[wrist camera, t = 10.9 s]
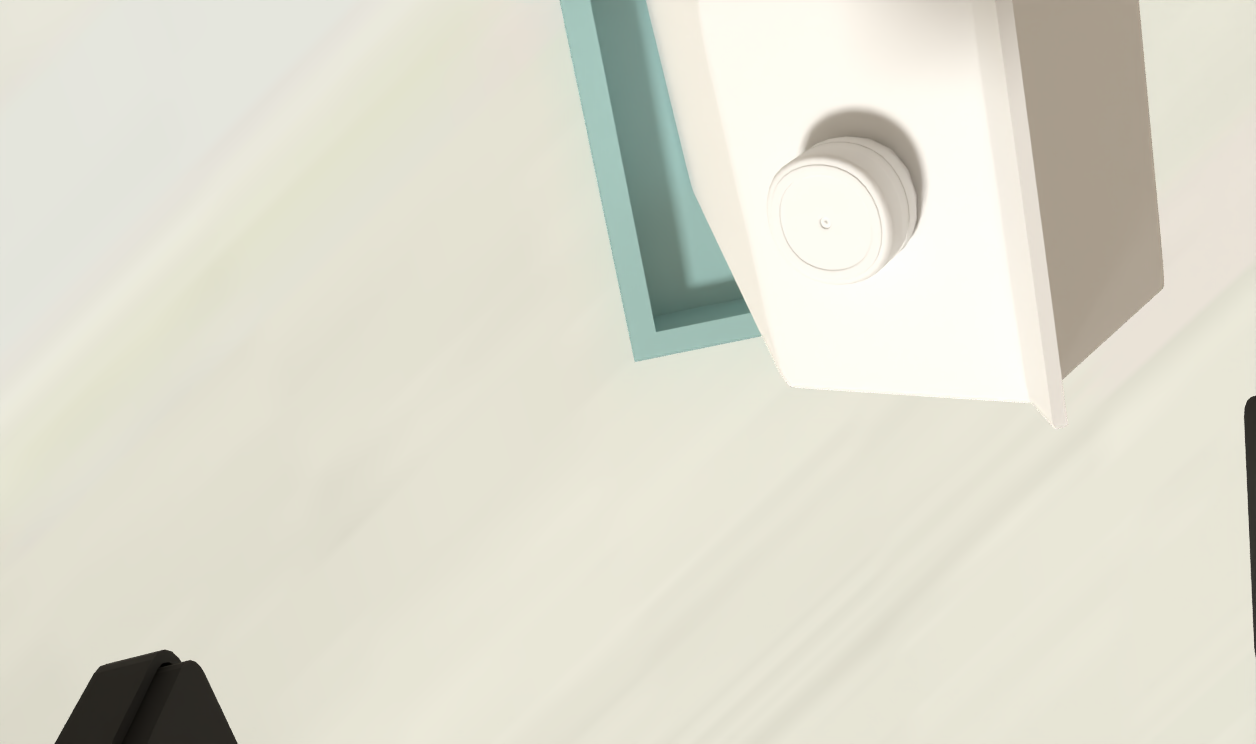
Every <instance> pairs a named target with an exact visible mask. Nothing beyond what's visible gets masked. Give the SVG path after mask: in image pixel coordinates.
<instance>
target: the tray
mask: <svg viewBox="0 0 1256 744" xmlns="http://www.w3.org/2000/svg"><path fill="white" fill-rule="evenodd" d="M560 4H561V9H562V13H563V18H564V23H565V28H566V33H567V37H568V42H569V47H570V52H571V57H572V62H573V66H574V71H575V76H576V81H577V86H578V90H579V95H580V100H581V105H582V110H583V115H584V119H585V124H586V129H587V134H588V139H589V143H590V148H591V153H592V158H593V163H594V167H595V172H596V177H597V182H598V187H599V192H600V196H601V201H602V206H603V211H604V216H605V220H606V225H607V230H608V235H609V240H610V245H611V249H612V254H613V259H614V264H615V269H616V273H617V278H618V283H619V288H620V293H621V298H622V302H623V307H624V312H625V317H626V322H627V326H628V331H629V336H630V341H631V346H632V351H633V355H634V360H635V362H637V361H642V360H647V359H651V358H656V357H661V356H666V355H671V354H676V353H681V352H686V351H691V350H696V349H701V348H705V347H710V346H715V345H720V344H725V343H730V342H735V341H740V340H745V339H750V338H755V337H759V336H762V335H761V333H760V331H759V329H758V327H757V325H756V323H755V321H754V319H753V316H752V314H751V312H750V310H749V308H748V306H747V304H746V302H745V300H744V297H743V295H742V293H741V291H740V289H739V287H738V285H737V283H736V281H735V279H734V276H733V274H732V272H731V270H730V268H729V266H728V264H727V262H726V260H725V257H724V255H723V253H722V251H721V249H720V247H719V245H718V243H717V241H716V239H715V236H714V234H713V232H712V230H711V228H710V226H709V224H708V222H707V220H706V218H705V215H704V213H703V211H702V209H701V207H700V205H699V203H698V201H697V199H696V196H695V194H694V192H693V189H692V186H691V183H690V179H689V175H688V171H687V167H686V163H685V159H684V155H683V151H682V147H681V143H680V139H679V134H678V130H677V126H676V122H675V118H674V114H673V110H672V106H671V102H670V98H669V94H668V90H667V85H666V81H665V77H664V73H663V69H662V65H661V61H660V57H659V53H658V49H657V45H656V41H655V36H654V32H653V28H652V24H651V20H650V16H649V12H648V8H647V4H646V0H560Z"/></svg>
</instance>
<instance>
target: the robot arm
mask: <svg viewBox="0 0 1256 744" xmlns="http://www.w3.org/2000/svg"><path fill="white" fill-rule="evenodd" d="M1244 424H1245V447H1246V470H1247V492H1248V515H1249V537H1250V560H1251V582H1252V605H1253V628H1254V648H1255V655H1256V396H1253V397H1251V398H1250V399H1249V400H1248V401H1247V403H1246V406H1245V411H1244ZM55 744H237V741H236V739H235V737H234V735H233V733H232V731H231V729H230V726H229V724H228V722H227V720H226V718H225V716H224V714H223V712H222V709H221V707H220V705H219V703H218V701H217V699H216V697H215V695H214V692H213V690H212V688H211V686H210V684H209V682H208V680H207V678H206V675H205V673H204V672H203V670H202V668H201V667H200V666H199V665H198V664H197V663H196V662H195V661H191V660H189V661H185V662H181V661H180V659H179V658H178V657H177V656H176V655H175V654H174V653H173V652H171V651H168V650H161V651H157V652H153V653H149V654H145V655H141V656H137V657H133V658H129V659H125V660H121V661H117V662H113V663H109V664H106V665H103V666H100V667H99V668H98V669H97V671H96V672H95V673H94V674H93V676H92V678H91V680H90V681H89V683H88V685H87V687H86V689H85V690H84V692H83V694H82V696H81V698H80V699H79V701H78V703H77V705H76V706H75V708H74V710H73V712H72V714H71V715H70V717H69V719H68V721H67V723H66V724H65V726H64V728H63V730H62V731H61V733H60V735H59V737H58V739H57V740H56V742H55Z"/></svg>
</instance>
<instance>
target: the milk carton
mask: <svg viewBox="0 0 1256 744" xmlns="http://www.w3.org/2000/svg"><path fill="white" fill-rule="evenodd" d="M646 4H647V8H648V12H649V16H650V20H651V24H652V28H653V32H654V36H655V41H656V45H657V49H658V53H659V57H660V61H661V65H662V69H663V73H664V77H665V81H666V85H667V90H668V94H669V98H670V102H671V106H672V110H673V114H674V118H675V122H676V126H677V130H678V134H679V139H680V143H681V147H682V151H683V155H684V159H685V163H686V167H687V171H688V175H689V179H690V183H691V186H692V189H693V192H694V194H695V196H696V199H697V201H698V203H699V205H700V207H701V209H702V211H703V213H704V215H705V218H706V220H707V222H708V224H709V226H710V228H711V230H712V232H713V234H714V236H715V239H716V241H717V243H718V245H719V247H720V249H721V251H722V253H723V255H724V257H725V260H726V262H727V264H728V266H729V268H730V270H731V272H732V274H733V276H734V279H735V281H736V283H737V285H738V287H739V289H740V291H741V293H742V295H743V297H744V300H745V302H746V304H747V306H748V308H749V310H750V312H751V314H752V316H753V319H754V321H755V323H756V325H757V327H758V329H759V331H760V333H761V335H762V337H763V340H764V342H765V344H766V346H767V348H768V350H769V352H770V354H771V356H772V358H773V361H774V363H775V365H776V367H777V369H778V371H779V372H780V374H781V376H782V377H783V378H784V380H785V381H786V383H787V384H788V385H789V386H790V387H796V388H808V389H822V390H838V391H853V392H868V393H884V394H899V395H914V396H929V397H945V398H960V399H975V400H990V401H1006V402H1021V403H1032V404H1033V406H1034V407H1035V408H1036V409H1037V410H1038V411H1039V412H1040V413H1041V414H1042V415H1043V417H1044V418H1045V419H1046V420H1047V421H1048V422H1049V423H1050V424H1051V425H1052V426H1053V427H1054V428H1055V429H1059V428H1063V427H1065V426H1067V425H1068V421H1067V414H1066V406H1065V398H1064V391H1063V383H1062V380H1063V379H1064V378H1065V377H1066V376H1067V375H1068V374H1069V373H1070V372H1071V371H1073V370H1074V369H1075V368H1076V367H1077V366H1078V365H1079V364H1080V363H1081V362H1082V361H1084V360H1085V359H1086V358H1087V357H1088V356H1089V355H1090V354H1091V353H1092V352H1093V351H1095V350H1096V349H1097V348H1098V347H1099V346H1100V345H1101V344H1102V343H1103V342H1105V341H1106V340H1107V339H1108V338H1109V337H1110V336H1111V335H1112V334H1113V333H1114V332H1116V331H1117V330H1118V329H1119V328H1120V327H1121V326H1122V325H1123V324H1124V323H1125V322H1127V321H1128V320H1129V319H1130V318H1131V317H1132V316H1133V315H1134V314H1135V313H1137V312H1138V311H1139V310H1140V309H1141V308H1142V307H1143V306H1144V305H1145V304H1146V303H1148V302H1149V301H1150V300H1151V299H1152V298H1153V297H1154V296H1155V295H1156V294H1157V293H1159V292H1160V291H1161V290H1162V289H1163V286H1164V274H1163V259H1162V248H1161V236H1160V225H1159V215H1158V204H1157V193H1156V182H1155V171H1154V160H1153V150H1152V139H1151V128H1150V117H1149V106H1148V96H1147V85H1146V74H1145V63H1144V52H1143V42H1142V31H1141V20H1140V9H1139V0H646Z"/></svg>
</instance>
